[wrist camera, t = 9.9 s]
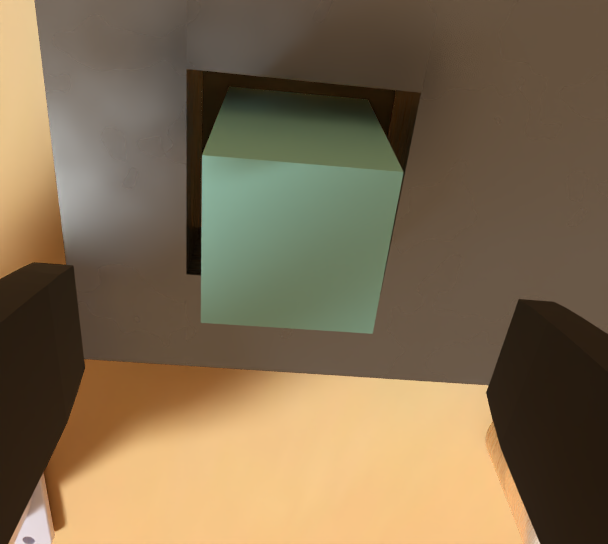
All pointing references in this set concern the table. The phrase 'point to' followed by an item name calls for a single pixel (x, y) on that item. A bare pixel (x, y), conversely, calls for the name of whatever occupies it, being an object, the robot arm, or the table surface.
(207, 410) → the table surface
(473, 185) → the bore block
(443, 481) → the table surface
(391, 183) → the square peg
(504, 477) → the round peg
